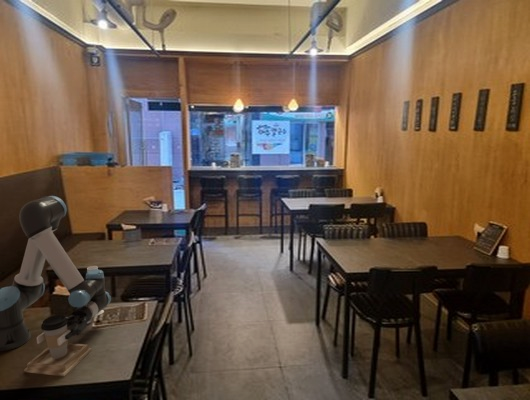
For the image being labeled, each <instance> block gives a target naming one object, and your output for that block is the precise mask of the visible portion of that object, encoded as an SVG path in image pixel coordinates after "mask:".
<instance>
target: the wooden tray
mask: <svg viewBox="0 0 530 400" xmlns="http://www.w3.org/2000/svg"><path fill="white" fill-rule="evenodd" d="M92 350H93V349H92V347H89V344H83V343H71V342H67V354H66V355H65V356H63V357H60V358H52V357H51V354H50V351H49V347H48V346H47V347H46V348H45V349H44V350H43V351H42V352H40V353H38V355H36V356H35V357H34V358H33V359H31V360H30V361H29V362H28V363H26V366H27V367H25V369H23V371H24V373H31V374H39V375H50V376H57V377H65V376H66V375H68V374H69V372H71V371H72V370H73V369H74V368H75V367H76V366H77V365H78V364H79V363H80V362H81V361H83V359H84V358H85V357H86V356H88V354H90V352H92Z"/></svg>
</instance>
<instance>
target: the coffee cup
mask: <svg viewBox="0 0 530 400" xmlns="http://www.w3.org/2000/svg"><path fill="white" fill-rule="evenodd" d="M66 317H67V316H66V315H63V314H56V315H52V316H49V317H47V318H45V319H44V320H43V321H42V323H41V324H40V325H41V327H40V329H41V331H43V332H44V335H45V338H46V339H45V341H46V345H47V348H48V347H49V351H50V354H51V357H52V358H60V357H63V356H65V355H66V354H67V343H68V341H69V339H67V340H66V341H65V342H63V343H62V344H61V345H60V346H58V342H57V339H58V338H59V337H60V336H62V335H63V334H64V333H65V332H67V331H68V330H69V329H68V327H67V323H68V319H67V318H66Z"/></svg>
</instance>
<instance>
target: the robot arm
mask: <svg viewBox="0 0 530 400" xmlns="http://www.w3.org/2000/svg"><path fill="white" fill-rule="evenodd" d="M67 211H68V209H67V204H66V203H65V202H64V201H63V199H61V198H60V197H58V196H55V195H49V196H47V195H46V196H43V197H41V198H39V199H38V198H37V199H35V200H31V201H29V202H27V203H25V204H24V205H23V206H22V208H21V209H20V211H19V215H18V216H19V223H20V226H21V229H22V231H23V232H24V234H25V236H26V237H27V239H28V240H27V244H26V247H25V251H24V255H23V259H22V263H21V266H20V270H19V273H17V274H15V276H14V278H13V282H12V284H11V285H10V286H5V287H1V288H0V352H5V351H10V350H13V349H16V348H19V347H21V346H23V345H25V344H26V343H28V341H29V340H30V339H31V331H30V329H29V328H28V326H27V324H26V322H25V321H24V315H23V312H24V310H26V309H27V308H28V307H30V306H31V305H32V304H34V303H36V302H37V301H38V300H40V298H41V297H42V296H43V295H44V293H45V290H46V289H45V288H46V286H45V283H44V278H43V277H42V271H43V269H44V267H45V262H47V263H48V265H50V267H51V269H52V270H53V271H54V273H55V274H56V276H57V277H58V279H59V280H60V282H61V283H62V285H63V286H64V287H65V289H66V291H67V292H68V293H69V295H68V298H67V299H68V303H69V305H70V306H71V307H73V308H75V309H74V310H73V312H71V314H70V315H69V316H65V317H66V318H67V319H68V323H67V328H68V327H71V328H70V329H67V330H68V331H67V332H65V333H64V334H63V335H62V336H60V337H59V338H58V339H57V342H58V346H60V345H61V344H62V343H63V342H65V341H66V340H67V339H68V340H69V339H70V338H72V337H74V336H77V337H78V336H80V335H81V334H82V333H83V331H84V330H86V328H87V327H88V326H90V325H91V324H92V322H91V320H92V319H93V318H94V317H96V316H95V315H96V314H97V313H99V312H100V311H101V310H104V309H105V308H107V306H108V305H109V304H110V303H111V300H112V298H111V297H112V296H111V295H110V293H109V292H108V291H106V287H105V286H106V285H105V284H106V283H105V275H104V271H103V270H102V269H98V270H91V271H88V272H87V271H86V273H85V278H83V276H82V274H81V273H80V271H79V270H78V268H77V267H76V265H75V264H74V263H73V261H72V259H71V258H70V256H69V255H68V253H67V251H65V249H64V247H63V246H62V245H61V243H60V241H59V240H58V238H57V237H56V235H55V233H54V232H55V231H56V230H58V229H59V226H60V222H61V220H62V219H63V218H64V217H65V216H66V215H67ZM44 341H46V338H45V335H44V331H43V332H41V333H40V334H38V336H36V343H37V344H38V345H40V344H41V343H42V342H44Z"/></svg>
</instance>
